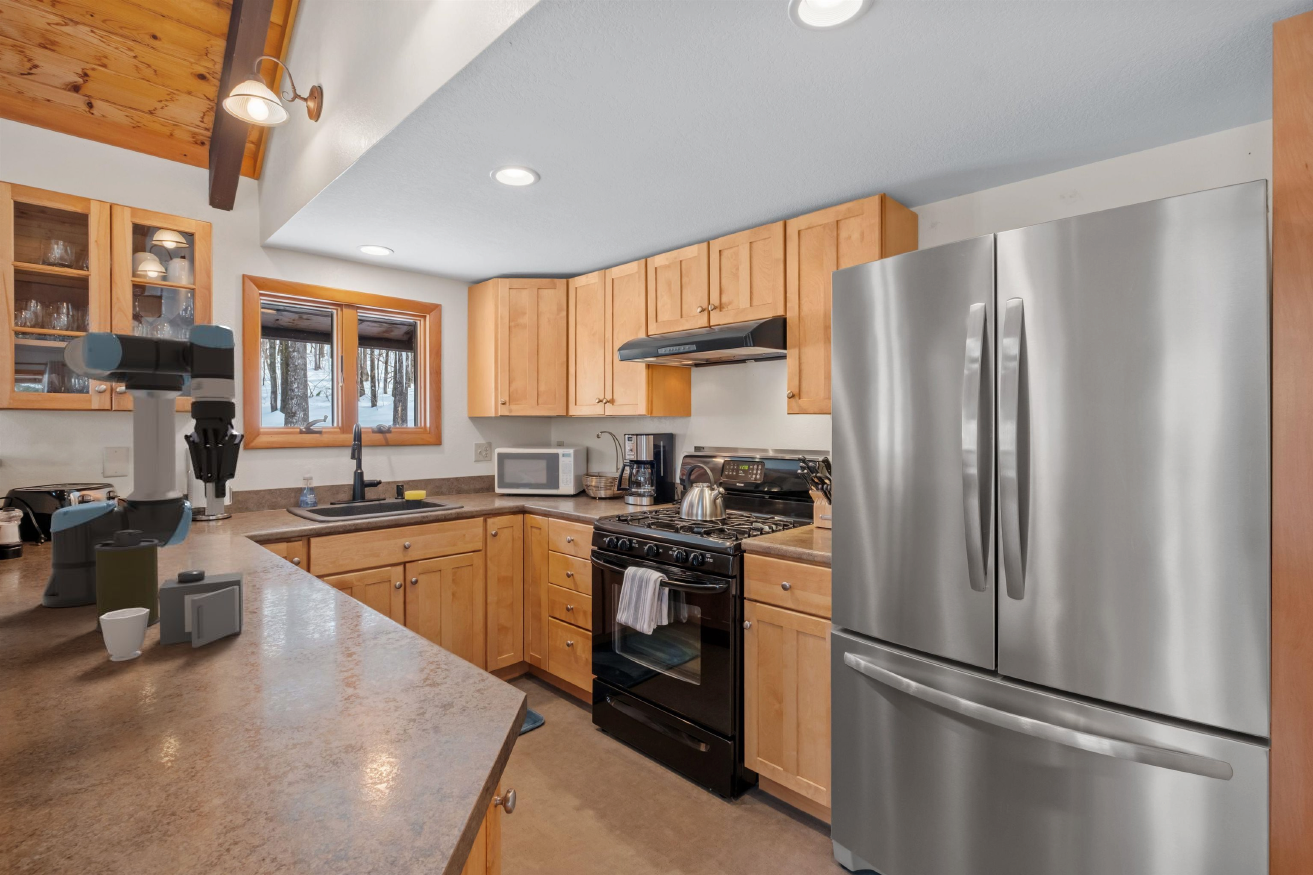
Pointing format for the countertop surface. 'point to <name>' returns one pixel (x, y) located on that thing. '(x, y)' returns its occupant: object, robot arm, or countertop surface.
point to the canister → (127, 575)
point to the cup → (124, 632)
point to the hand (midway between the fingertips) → (215, 513)
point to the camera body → (178, 601)
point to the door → (214, 615)
